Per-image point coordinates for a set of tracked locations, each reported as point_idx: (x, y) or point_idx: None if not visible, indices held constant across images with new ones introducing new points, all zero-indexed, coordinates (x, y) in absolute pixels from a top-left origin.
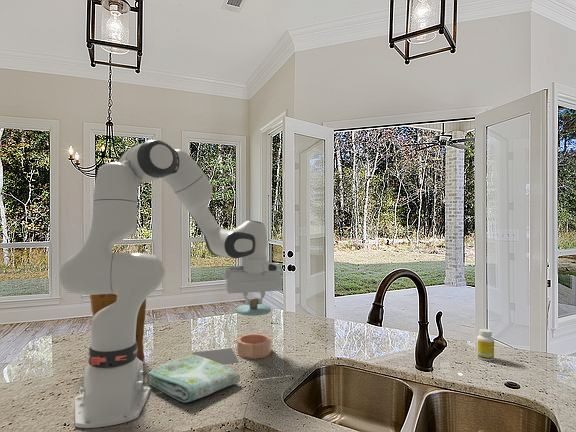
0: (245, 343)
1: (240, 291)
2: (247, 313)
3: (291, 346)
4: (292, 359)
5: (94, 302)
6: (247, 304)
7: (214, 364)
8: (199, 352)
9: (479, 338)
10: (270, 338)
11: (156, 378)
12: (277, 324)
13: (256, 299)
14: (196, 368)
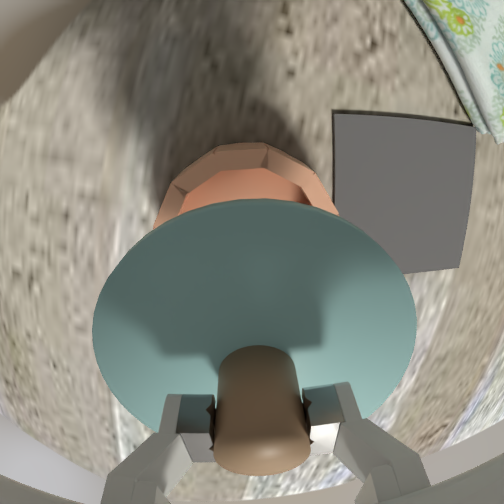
0: (307, 183)
1: (496, 474)
2: (360, 231)
3: (82, 259)
4: (95, 113)
5: None
6: (339, 383)
7: (457, 7)
8: (442, 261)
9: None
10: None
11: None
12: (134, 440)
13: (232, 433)
14: (501, 15)
